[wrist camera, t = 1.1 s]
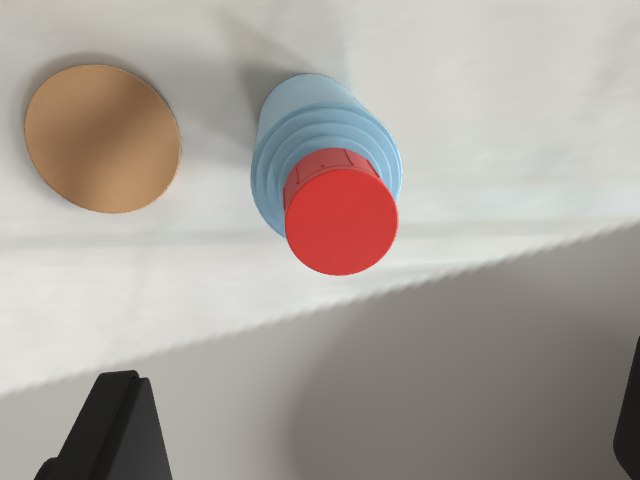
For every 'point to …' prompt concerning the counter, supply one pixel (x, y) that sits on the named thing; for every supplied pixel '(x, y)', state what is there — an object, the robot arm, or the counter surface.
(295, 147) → the bottle
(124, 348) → the counter surface
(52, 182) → the coaster
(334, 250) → the cap
